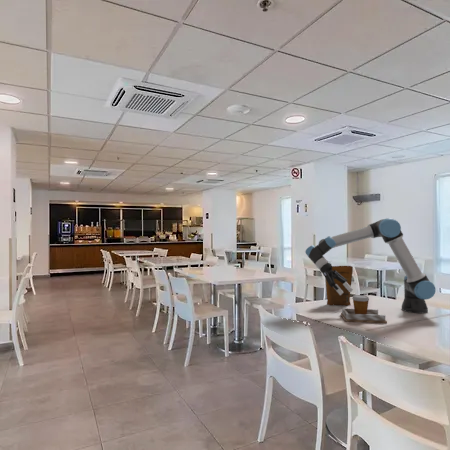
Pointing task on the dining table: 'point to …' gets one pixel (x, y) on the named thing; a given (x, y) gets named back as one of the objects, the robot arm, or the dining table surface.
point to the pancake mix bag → (332, 294)
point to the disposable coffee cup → (360, 304)
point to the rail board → (363, 316)
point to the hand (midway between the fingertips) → (346, 292)
